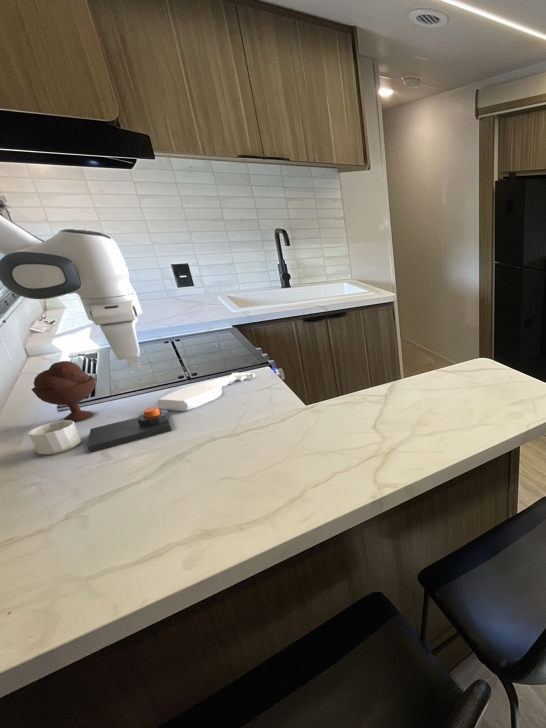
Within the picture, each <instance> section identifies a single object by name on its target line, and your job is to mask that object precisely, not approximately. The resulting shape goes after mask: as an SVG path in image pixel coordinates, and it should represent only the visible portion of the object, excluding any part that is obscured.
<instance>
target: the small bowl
mask: <svg viewBox="0 0 546 728" xmlns="http://www.w3.org/2000/svg"><path fill="white" fill-rule="evenodd" d="M27 435H28V438H29V439H30V441H31V443H32V446H33V447H34V450H35V452H36V453H37V454H39V455H44V456H45V455H46V456H49V455H56V454H60V453H63V452H67V451H69V450H71V449H74V448H76V447H77V446H78V445H79V444H80V443H81V442H82V437H81V435H80V432H79V429H78V428H77V426H76V422H74V421H71V420H64V419H63V420H58V421H53V422H48V423H45V424H42V425H39V426H37V427H34V428H32V429H31V430H30V431H28V433H27Z"/></svg>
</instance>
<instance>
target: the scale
mask: <svg viewBox="0 0 546 728" xmlns="http://www.w3.org/2000/svg"><path fill="white" fill-rule="evenodd" d="M159 411H160V415H158V416H156V417H152V418H145V415H144V413H142V414H140V415H139V416H137V417H133V418H129V419H125V420H120V421H117V422H112V423H108V424H105V425H101V426H97V427H92V428H90V430H89V435H88V436H89V437H88V438H89V439H88V445H87V448H88V450H89V452H90V453H93V452H97V451H100V450H104V449H108V448H111V447H115V446H119V445H122V444H126V443H130V442H134V441H137V440H140V439H145V438H148V437H152V436H157V435H159V434H163V433H166V432H167V433H168V432H170V431H172V426H171V423H170V419H171V417H170V414H169V410H165V409H159Z"/></svg>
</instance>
